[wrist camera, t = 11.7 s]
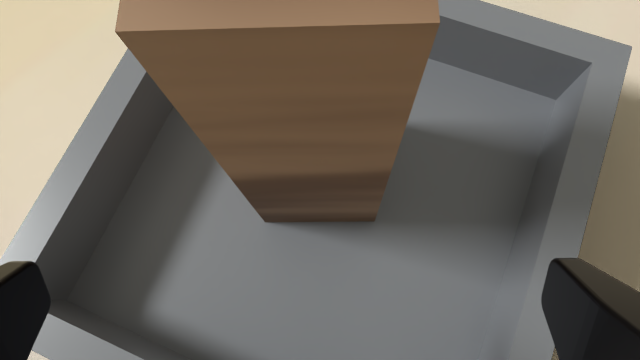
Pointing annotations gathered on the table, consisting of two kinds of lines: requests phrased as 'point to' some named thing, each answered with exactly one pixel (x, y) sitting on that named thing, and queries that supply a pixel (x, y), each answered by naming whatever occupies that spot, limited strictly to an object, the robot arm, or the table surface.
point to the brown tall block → (291, 92)
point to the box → (335, 237)
